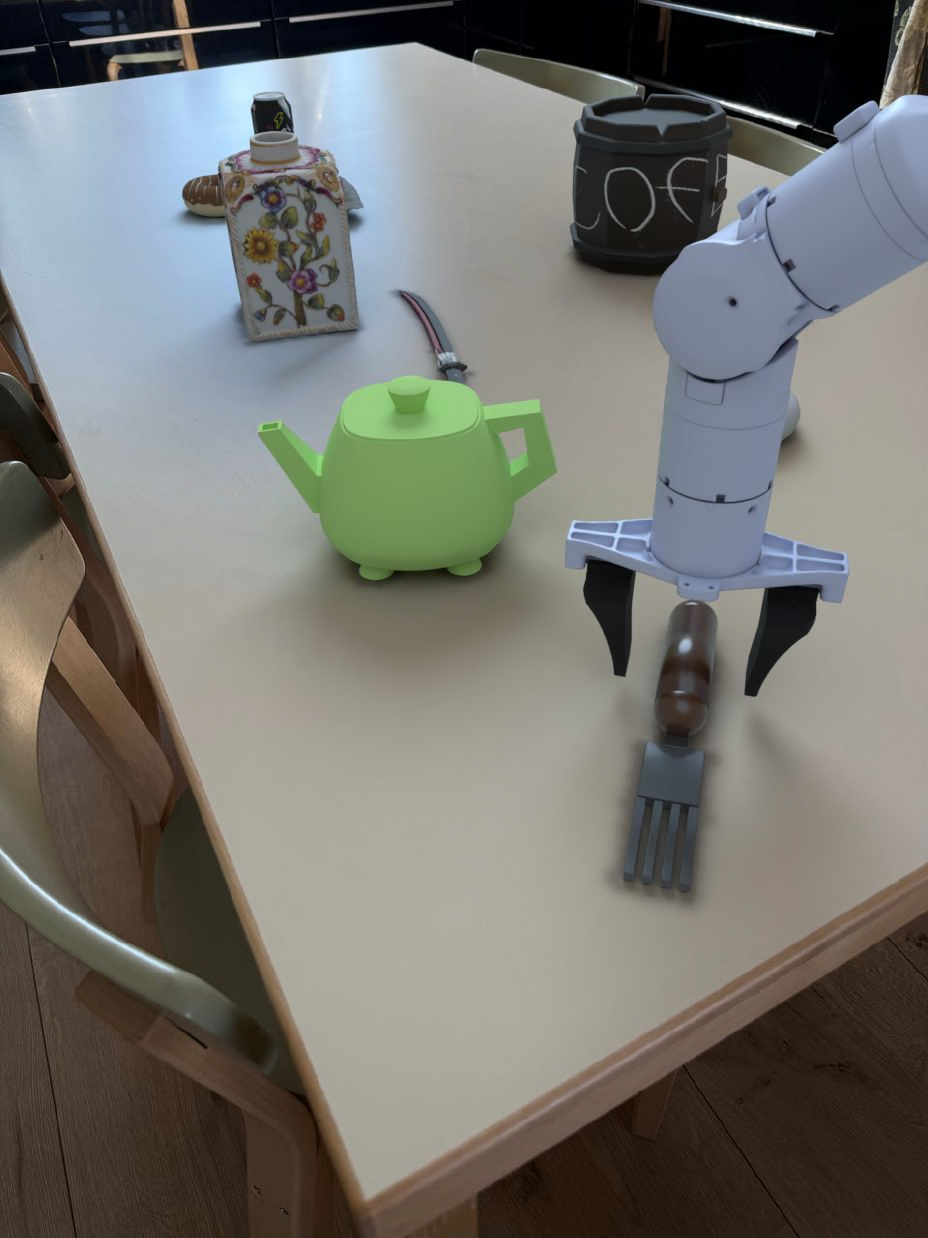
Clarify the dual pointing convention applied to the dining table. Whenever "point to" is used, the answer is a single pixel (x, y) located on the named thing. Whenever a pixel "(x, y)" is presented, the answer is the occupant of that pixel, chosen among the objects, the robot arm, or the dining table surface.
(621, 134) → the wooden barrel
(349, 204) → the seashell
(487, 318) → the dining table surface
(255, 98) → the beverage can
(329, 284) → the decorative jar
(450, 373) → the sword
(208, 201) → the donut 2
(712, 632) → the fork
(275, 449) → the teapot
